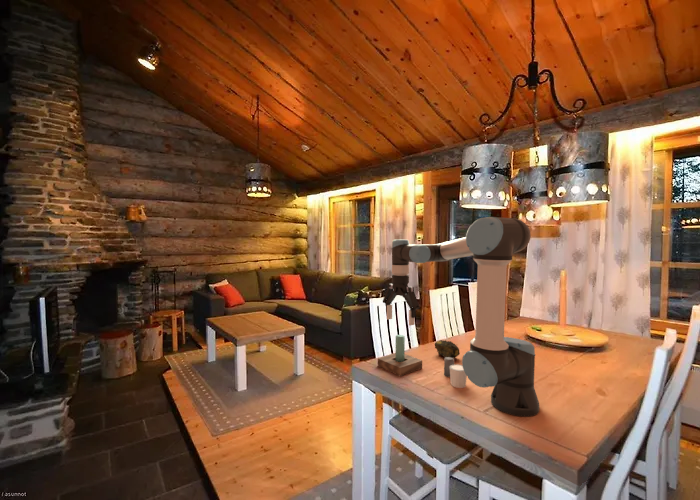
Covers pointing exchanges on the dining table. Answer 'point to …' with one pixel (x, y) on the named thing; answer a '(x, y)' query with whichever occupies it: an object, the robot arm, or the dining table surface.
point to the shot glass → (457, 376)
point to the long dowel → (400, 348)
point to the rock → (447, 349)
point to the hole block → (400, 364)
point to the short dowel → (448, 365)
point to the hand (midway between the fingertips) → (400, 321)
